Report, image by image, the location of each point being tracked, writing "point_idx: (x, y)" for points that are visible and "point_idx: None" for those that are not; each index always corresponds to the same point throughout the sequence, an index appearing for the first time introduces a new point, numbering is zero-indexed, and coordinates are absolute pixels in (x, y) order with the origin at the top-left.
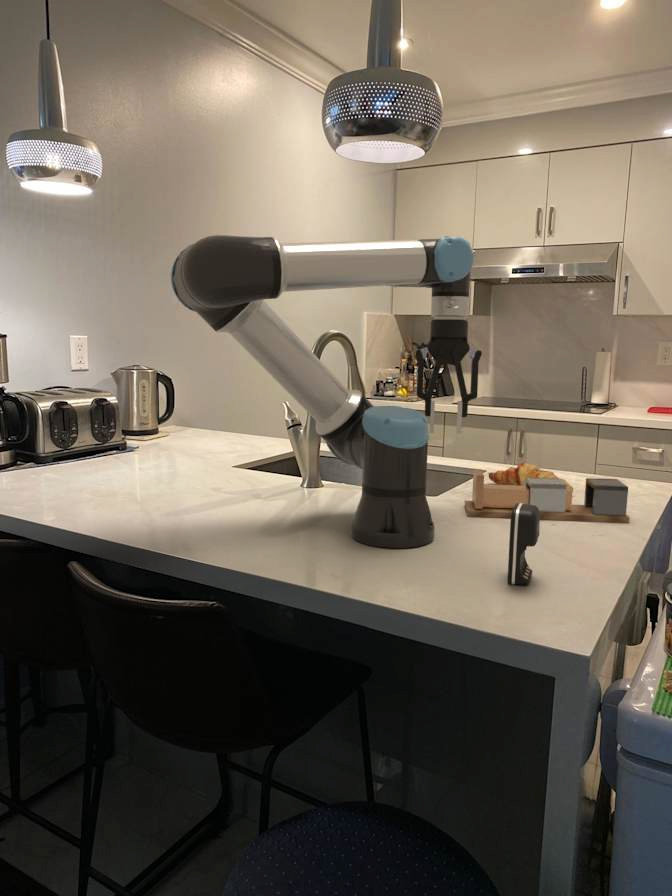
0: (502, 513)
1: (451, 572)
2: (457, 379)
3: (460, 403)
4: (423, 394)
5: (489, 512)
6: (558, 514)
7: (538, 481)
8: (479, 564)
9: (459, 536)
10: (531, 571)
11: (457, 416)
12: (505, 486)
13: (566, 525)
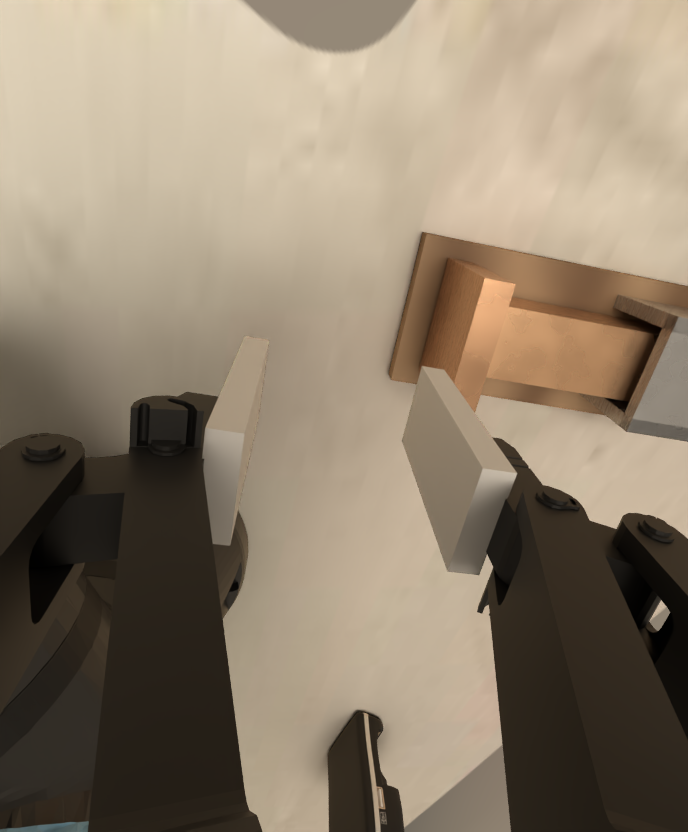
0: (492, 394)
1: (248, 714)
2: (554, 673)
3: (460, 564)
4: (91, 552)
5: None
6: None
7: (681, 389)
8: (308, 684)
9: (312, 542)
10: (379, 734)
11: (438, 435)
12: (564, 344)
13: (626, 460)
